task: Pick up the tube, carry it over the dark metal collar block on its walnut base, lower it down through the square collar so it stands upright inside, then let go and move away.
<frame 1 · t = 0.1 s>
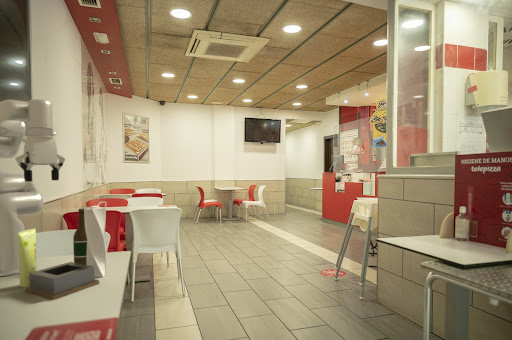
hand: (42, 180, 121), 37 cm above the table, tool pointing down, fingers open, 9 cm apart
collar: (63, 287, 113), on the table
beer bottle: (84, 266, 140), on the table
skyscraper: (97, 275, 126), on the table
tube: (28, 286, 117), on the table
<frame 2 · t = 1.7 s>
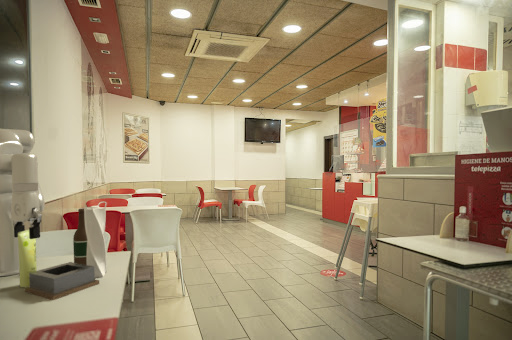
hand: (27, 237, 116), 17 cm above the table, tool pointing down, fingers open, 9 cm apart
nothing on the table moved.
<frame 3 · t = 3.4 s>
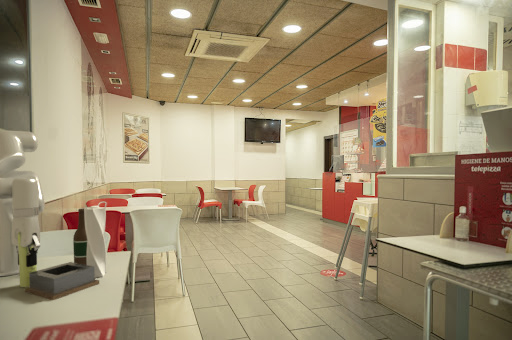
hand: (27, 264, 117), 7 cm above the table, tool pointing down, fingers closed on tube, 4 cm apart
tube: (28, 286, 117), on the table, touching gripper
everything else where it was.
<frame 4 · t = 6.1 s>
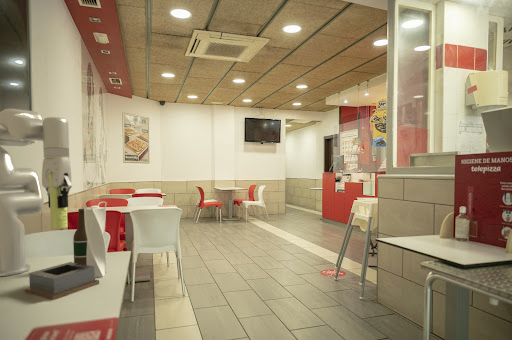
hand: (58, 206, 113), 28 cm above the table, tool pointing down, fingers closed on tube, 4 cm apart
tube: (58, 229, 113), point 20 cm above the table, touching gripper
everything else where it was.
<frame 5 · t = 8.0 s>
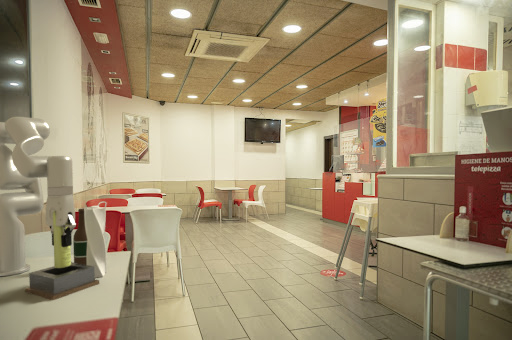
hand: (61, 244, 113), 15 cm above the table, tool pointing down, fingers closed on tube, 4 cm apart
tube: (62, 267, 113), point 7 cm above the table, touching gripper
everything else where it was.
when the fingers open (10 cm above the table, at t = 9.3 s): tube drops 1 cm, resting on collar.
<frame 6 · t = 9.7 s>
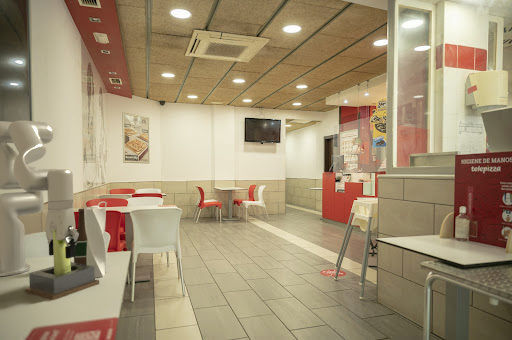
hand: (62, 255, 113), 11 cm above the table, tool pointing down, fingers open, 9 cm apart
tube: (62, 284, 113), point 1 cm above the table, touching collar
everything else where it was.
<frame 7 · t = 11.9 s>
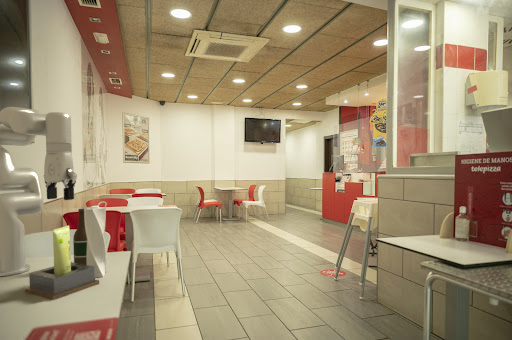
hand: (60, 199, 113), 30 cm above the table, tool pointing down, fingers open, 9 cm apart
nothing on the table moved.
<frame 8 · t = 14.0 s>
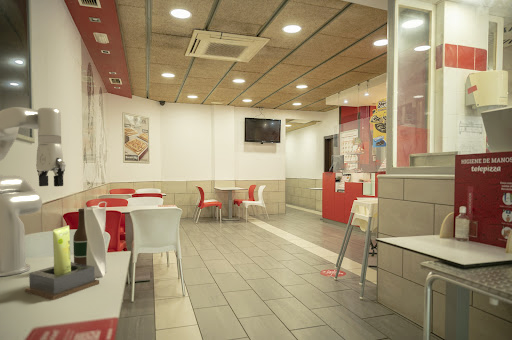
hand: (51, 186, 126), 34 cm above the table, tool pointing down, fingers open, 9 cm apart
nothing on the table moved.
at the end: tube 0.3 cm off-centre on the collar, point 1.0 cm above the collar's base; tube tilted 0°; the gripper is holding nothing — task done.
